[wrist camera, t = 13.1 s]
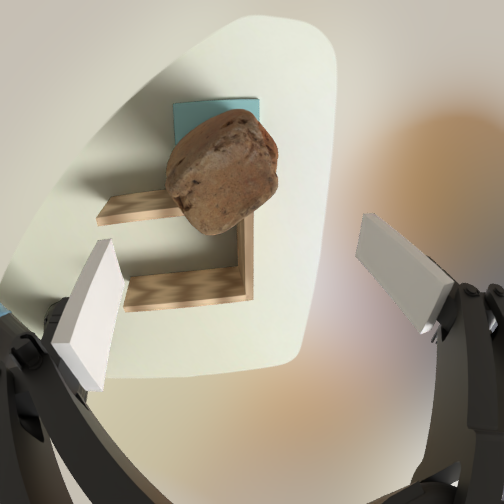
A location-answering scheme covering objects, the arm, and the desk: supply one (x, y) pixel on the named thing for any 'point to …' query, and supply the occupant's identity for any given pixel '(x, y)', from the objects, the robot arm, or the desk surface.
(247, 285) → the wooden u-shaped enclosure
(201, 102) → the mat
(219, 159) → the brown pitted rock
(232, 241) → the desk surface
